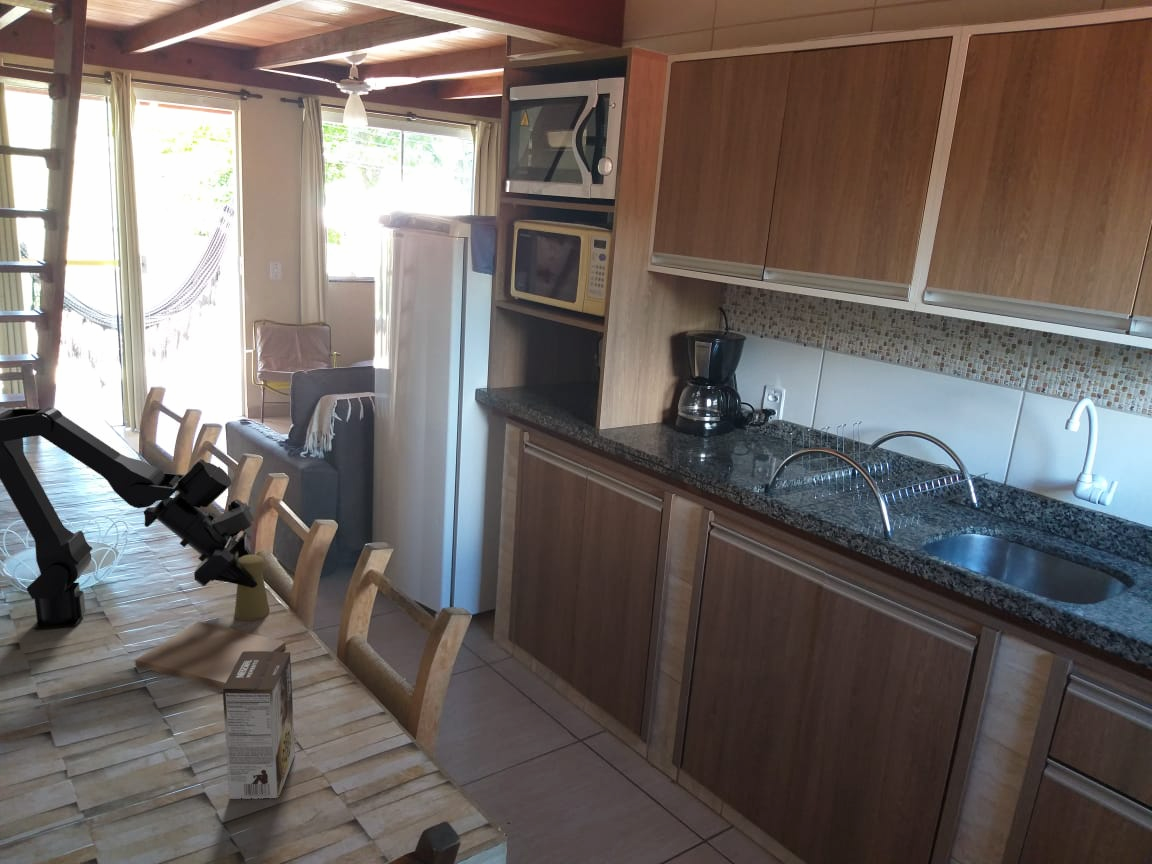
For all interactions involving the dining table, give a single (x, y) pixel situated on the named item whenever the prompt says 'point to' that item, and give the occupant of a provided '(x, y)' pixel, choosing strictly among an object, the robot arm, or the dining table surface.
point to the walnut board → (205, 653)
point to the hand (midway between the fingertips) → (258, 579)
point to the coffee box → (259, 724)
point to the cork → (252, 591)
